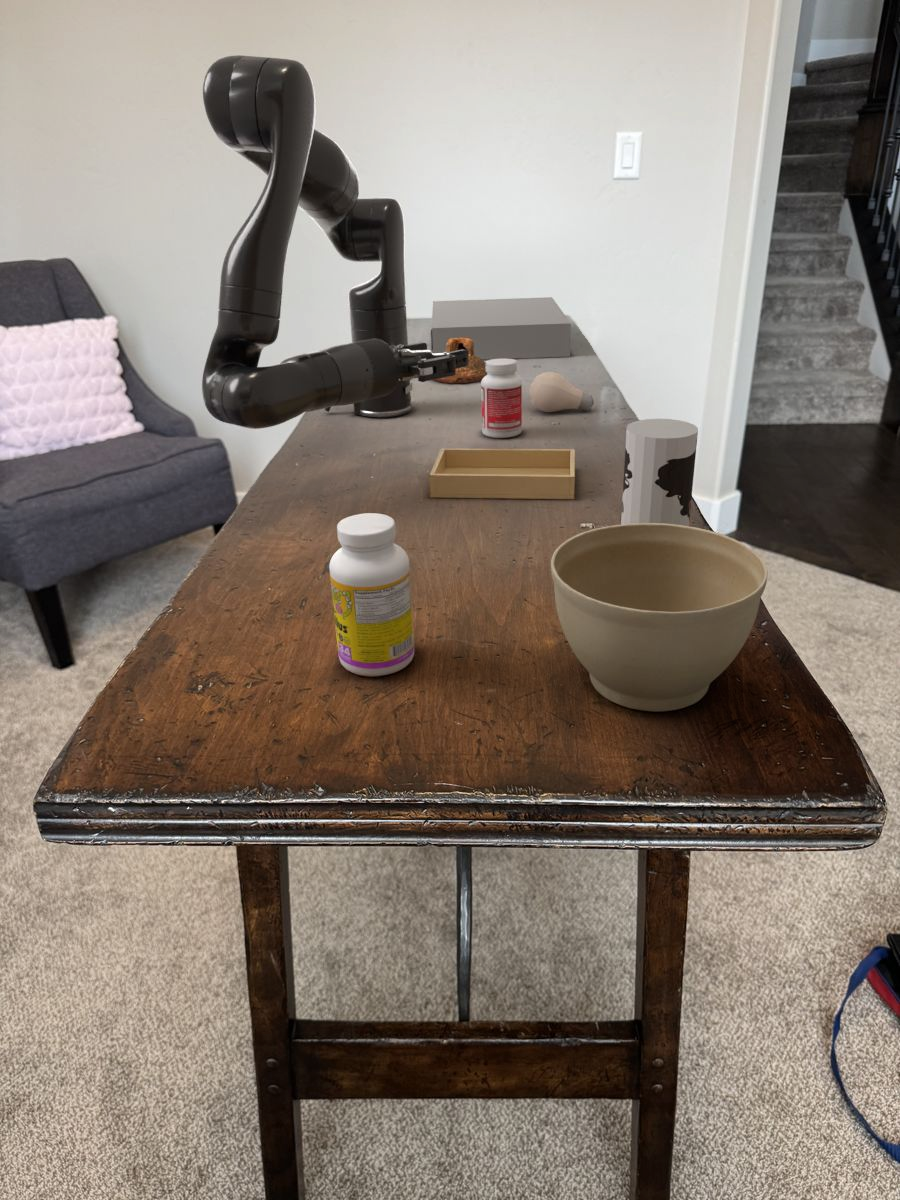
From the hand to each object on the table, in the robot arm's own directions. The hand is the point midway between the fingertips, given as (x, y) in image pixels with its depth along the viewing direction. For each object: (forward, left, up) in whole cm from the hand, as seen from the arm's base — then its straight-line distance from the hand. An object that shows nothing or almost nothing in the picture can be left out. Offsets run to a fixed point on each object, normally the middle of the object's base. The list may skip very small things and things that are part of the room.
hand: (445, 353), depth 125 cm
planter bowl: (+24, -62, -14) cm, 68 cm away
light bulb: (+16, +22, -14) cm, 31 cm away
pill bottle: (+7, +9, -14) cm, 18 cm away
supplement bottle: (+1, -60, -14) cm, 62 cm away
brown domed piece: (-4, +47, -14) cm, 49 cm away
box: (+1, +80, -14) cm, 82 cm away
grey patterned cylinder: (+26, -40, -14) cm, 50 cm away
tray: (+9, -14, -14) cm, 22 cm away
